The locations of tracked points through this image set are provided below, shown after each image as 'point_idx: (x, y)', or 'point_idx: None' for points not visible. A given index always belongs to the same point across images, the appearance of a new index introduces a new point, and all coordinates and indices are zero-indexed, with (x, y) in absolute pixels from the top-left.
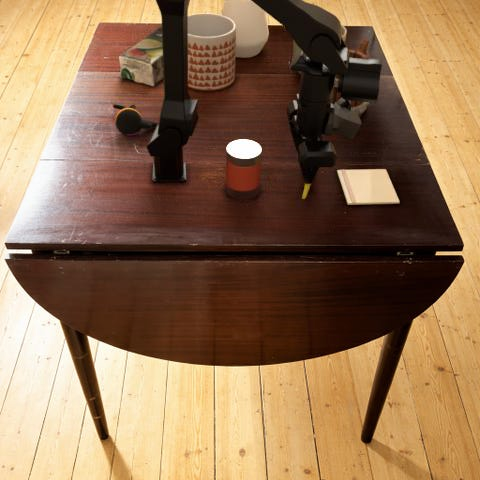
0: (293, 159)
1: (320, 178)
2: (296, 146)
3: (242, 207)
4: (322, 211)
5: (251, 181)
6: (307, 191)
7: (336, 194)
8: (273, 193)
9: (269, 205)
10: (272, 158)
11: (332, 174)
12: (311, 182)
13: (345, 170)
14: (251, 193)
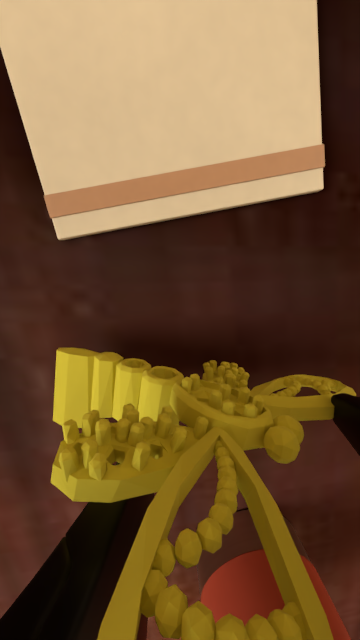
0: (17, 429)
1: (134, 315)
2: (146, 630)
3: (330, 533)
4: (357, 300)
5: (339, 617)
6: (328, 384)
7: (243, 243)
8: (256, 468)
9: (321, 470)
10: (35, 499)
11: (90, 262)
12: (353, 396)
13: (49, 193)
14: (301, 544)
